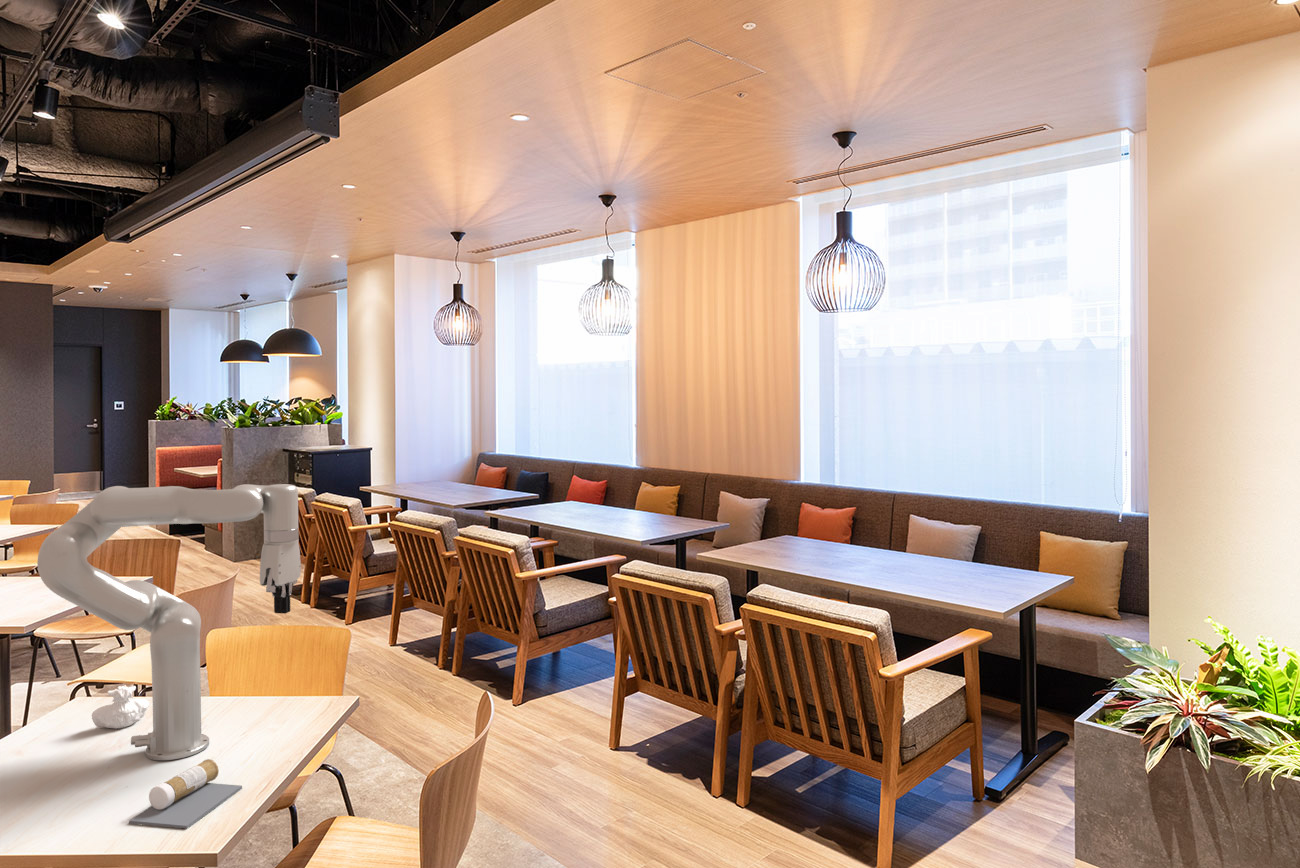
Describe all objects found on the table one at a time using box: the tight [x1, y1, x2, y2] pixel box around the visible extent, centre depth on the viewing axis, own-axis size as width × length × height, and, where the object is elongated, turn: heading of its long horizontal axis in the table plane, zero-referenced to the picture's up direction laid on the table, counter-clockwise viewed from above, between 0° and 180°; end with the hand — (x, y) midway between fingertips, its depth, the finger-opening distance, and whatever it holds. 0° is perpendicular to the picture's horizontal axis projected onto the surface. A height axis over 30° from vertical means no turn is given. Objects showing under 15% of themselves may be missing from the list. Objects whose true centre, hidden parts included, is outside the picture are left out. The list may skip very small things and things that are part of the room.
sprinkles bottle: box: [148, 758, 219, 810], centre depth 163 cm, size 5×5×14 cm
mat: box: [128, 782, 243, 830], centre depth 160 cm, size 16×12×1 cm
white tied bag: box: [91, 684, 150, 730], centre depth 198 cm, size 12×8×11 cm
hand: (282, 612), depth 194 cm, fingers closed
